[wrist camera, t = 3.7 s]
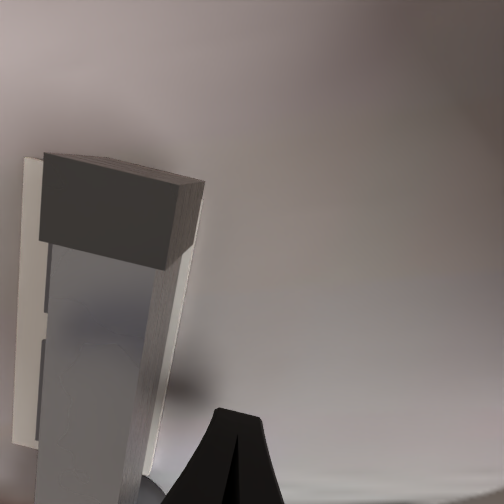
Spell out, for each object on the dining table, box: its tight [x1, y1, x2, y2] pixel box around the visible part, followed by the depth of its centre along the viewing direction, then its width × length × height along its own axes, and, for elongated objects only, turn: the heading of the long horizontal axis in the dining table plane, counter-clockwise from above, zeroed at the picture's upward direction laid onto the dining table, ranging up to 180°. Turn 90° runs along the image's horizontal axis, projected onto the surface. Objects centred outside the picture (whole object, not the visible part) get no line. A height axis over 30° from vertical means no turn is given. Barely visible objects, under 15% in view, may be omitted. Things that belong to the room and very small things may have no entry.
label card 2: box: [17, 157, 203, 356], centre depth 9 cm, size 5×5×1 cm
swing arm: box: [34, 152, 205, 504], centre depth 8 cm, size 14×3×3 cm, turn 167°
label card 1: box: [12, 319, 174, 476], centre depth 11 cm, size 5×5×1 cm
